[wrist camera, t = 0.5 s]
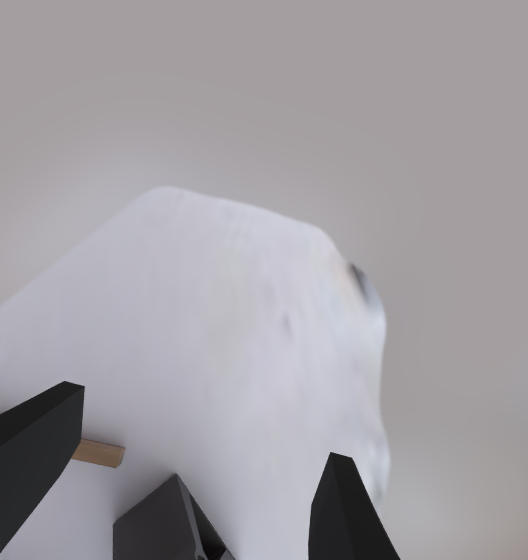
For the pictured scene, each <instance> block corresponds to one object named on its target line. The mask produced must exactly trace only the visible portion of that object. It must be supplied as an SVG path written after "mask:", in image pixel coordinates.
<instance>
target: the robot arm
mask: <svg viewBox="0 0 528 560" xmlns="http://www.w3.org/2000/svg"><path fill="white" fill-rule="evenodd" d="M84 390H85V386H81V385H78V384H74V383H70V382H67V381H64V382H62V383H60V384H58V385H56V386H54V387H52V388H50V389H48V390H46V391H44V392H42V393H40V394H39V395H37V396H35V397H33V398H31V399H29V400H27V401H25V402H23V403H21V404H20V405H18V406H16V407H14V408H12V409H10V410H8V411H6V412H4V413H2V414H0V553H1V552H2V550H3V549H4V548H5V546H6V545H7V544H8V543H9V541H10V540H11V539H12V537H13V536H14V535H15V534H16V532H17V531H18V530H19V528H20V527H21V526H22V525H23V523H24V522H25V521H26V519H27V518H28V517H29V516H30V514H31V513H32V512H33V510H34V509H35V508H36V507H37V505H38V504H39V503H40V501H41V500H42V499H43V497H44V496H45V495H46V494H47V492H48V491H49V490H50V488H51V487H52V486H53V484H54V483H55V482H56V480H57V479H58V478H59V476H60V475H61V474H62V472H63V470H64V469H65V467H66V465H67V464H68V462H69V461H70V459H71V457H72V456H73V454H74V452H75V450H76V449H77V447H78V445H79V444H80V442H81V430H82V417H83V403H84ZM308 556H309V560H400V558H399V556H398V555H397V553H396V551H395V549H394V547H393V545H392V543H391V541H390V539H389V537H388V535H387V533H386V531H385V529H384V528H383V525H382V523H381V521H380V519H379V517H378V515H377V513H376V511H375V509H374V506H373V504H372V502H371V500H370V498H369V495H368V493H367V491H366V489H365V486H364V484H363V482H362V479H361V477H360V475H359V472H358V470H357V467H356V465H355V462H354V461H353V459H352V458H351V457H347V456H343V455H340V454H336V453H332V452H330V455H329V457H328V460H327V463H326V466H325V468H324V471H323V474H322V477H321V480H320V482H319V485H318V488H317V491H316V493H315V496H314V499H313V502H312V505H311V516H310V527H309V541H308Z"/></svg>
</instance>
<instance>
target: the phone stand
mask: <svg viewBox="0 0 528 560" xmlns="http://www.w3.org/2000/svg"><path fill="white" fill-rule="evenodd" d="M113 560H235V559H234V557H233V556H232V554H231V553H230V551H229V550H228V548H227V547H226V545H225V544H224V542H223V541H222V539H221V538H220V537H219V535H218V534H217V532H216V531H215V529H214V528H213V526H212V525H211V523H210V522H209V521H208V519H207V518H206V516H205V514H204V513H203V511H202V510H201V508H200V507H199V505H198V504H197V502H196V501H195V499H194V498H193V496H192V495H191V493H190V492H189V490H188V489H187V488H186V486H185V485H184V483H183V482H182V480H181V479H180V477H179V476H178V474H175V475H174V476H173V477H172V478H170V479H169V480H168V481H167V482H165V483H164V484H163V485H162V486H160V487H159V488H158V489H157V490H155V491H154V492H153V493H152V494H150V495H149V496H148V497H147V498H145V499H144V500H143V501H141V502H140V503H139V504H138V505H136V506H135V507H134V508H133V509H131V510H130V511H129V512H128V513H126V514H125V515H124V516H123V517H121V518H120V519H119V520H118V521H116V522H115V523H114V524H113Z"/></svg>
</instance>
